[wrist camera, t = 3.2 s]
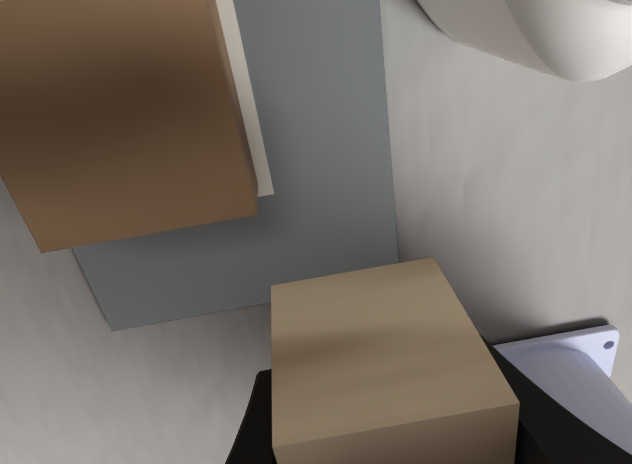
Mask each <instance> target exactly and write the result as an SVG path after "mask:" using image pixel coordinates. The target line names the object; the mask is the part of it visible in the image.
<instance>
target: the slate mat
mask: <svg viewBox="0 0 632 464" xmlns="http://www.w3.org/2000/svg"><path fill="white" fill-rule="evenodd" d="M0 1H2V0H0ZM216 3H217V8H218V12H219V16H220V21H221V25H222V30H223V34H224V38H225V43H226V47H227V51H228V56H229V60H230V64H231V69H232V73H233V77H234V82H235V86H236V90H237V95H238V99H239V103H240V108H241V112H242V116H243V121H244V125H245V130H246V134H247V138H248V143H249V147H250V151H251V156H252V160H253V164H254V169H255V173H256V177H257V182H258V199H257V215H253V216H247V217H242V218H236V219H231V220H225V221H219V222H214V223H208V224H202V225H197V226H191V227H185V228H180V229H174V230H168V231H163V232H157V233H151V234H146V235H140V236H134V237H129V238H123V239H117V240H112V241H106V242H100V243H95V244H89V245H83V246H78V247H72V250H73V252H74V254H75V256H76V258H77V260H78V262H79V264H80V266H81V268H82V270H83V272H84V275H85V277H86V279H87V281H88V283H89V285H90V287H91V289H92V291H93V293H94V295H95V297H96V299H97V302H98V304H99V306H100V308H101V310H102V312H103V314H104V316H105V318H106V320H107V322H108V324H109V326H110V328H111V331H115V330H120V329H126V328H132V327H137V326H143V325H148V324H154V323H160V322H165V321H171V320H176V319H182V318H188V317H193V316H199V315H204V314H210V313H216V312H221V311H227V310H232V309H238V308H244V307H249V306H255V305H260V304H266V303H271V286H272V285H278V284H283V283H289V282H295V281H300V280H306V279H312V278H317V277H323V276H329V275H334V274H340V273H345V272H351V271H357V270H362V269H368V268H374V267H379V266H385V265H390V264H396V263H399V261H398V247H397V234H396V220H395V206H394V193H393V179H392V166H391V152H390V139H389V125H388V111H387V98H386V84H385V71H384V57H383V43H382V30H381V16H380V3H379V0H216Z"/></svg>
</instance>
